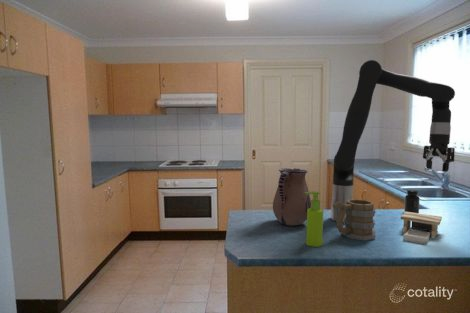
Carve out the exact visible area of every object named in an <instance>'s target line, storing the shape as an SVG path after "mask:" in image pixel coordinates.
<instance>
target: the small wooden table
mask: <svg viewBox="0 0 470 313" xmlns="http://www.w3.org/2000/svg"><path fill="white" fill-rule="evenodd" d="M400 220H403V227H402V228H403V229H402V232H403V234H406V232H407V231H408V229H409V228H411V229H415V228H416V229H415V230H421V229H422V231H427V230H428V231H430V232H431V235H430V238H431V237H432V239H435V238H436V236H437V233H438V229H439V228H438V227H439V226H440V224H441V222H442V220H443V216H439V215H432V214H426V213H425V214H424V213H420V212H419V213H412V212H404V213H403V214H402V215H401V216H400ZM428 231H427V232H428Z"/></svg>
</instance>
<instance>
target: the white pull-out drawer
mask: <svg viewBox="0 0 470 313" xmlns="http://www.w3.org/2000/svg"><path fill="white" fill-rule="evenodd" d="M431 235H432V231H429V232H428V231H427V232H426V231H423V230H422V231H421V230H417V229H412V227H410V228H409V229H408V231H407V232H406V233H403V237H402V238H403V239H402V241H404V242H410V243H416V244H420V245H425V244H426V245H428V242H429V239H430V238H431ZM429 237H430V238H429Z"/></svg>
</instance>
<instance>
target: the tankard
mask: <svg viewBox="0 0 470 313" xmlns="http://www.w3.org/2000/svg"><path fill="white" fill-rule="evenodd" d="M374 205H375V203H374V201H370V200H367V199H358V198H357V199H355V198H353V199H352V200H348V201H347V205H344V204H342V203H340V202H338V201H337V202H336V203H334V204H333V207H334V208H335V209H336V208H337V207H340V212H339V217H338V219H337V221H336V228H337V230H338V233H340V234H341V235H342V236H344V237H346V238H349V239H351V240H358V241H373V240H376V233H377V232H376V231H375V230H373V229H374V228H375V225H376V222H375V220H374V217H375V214H376V213H377V212H376V208H374V207H375V206H374ZM345 213H346V217H345ZM344 217H345V219H344ZM343 219H344V222H343ZM343 225H344V226H343Z"/></svg>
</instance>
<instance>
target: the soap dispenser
mask: <svg viewBox="0 0 470 313" xmlns="http://www.w3.org/2000/svg"><path fill="white" fill-rule="evenodd" d="M305 194H307V195H308V194H309V195H312V197H313V198H312V200H311V208H309V209H307V220H306V230H305V232H306V233H305V234H306V235H305V236H306V238H305V239H306V240H305V244H306V245H307V246H311V247H316V248H317V247H321V246H323V227H324V209H322V208H321V200H319V195H321V192H319V191H312V190H311V191H309V192H305Z"/></svg>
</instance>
